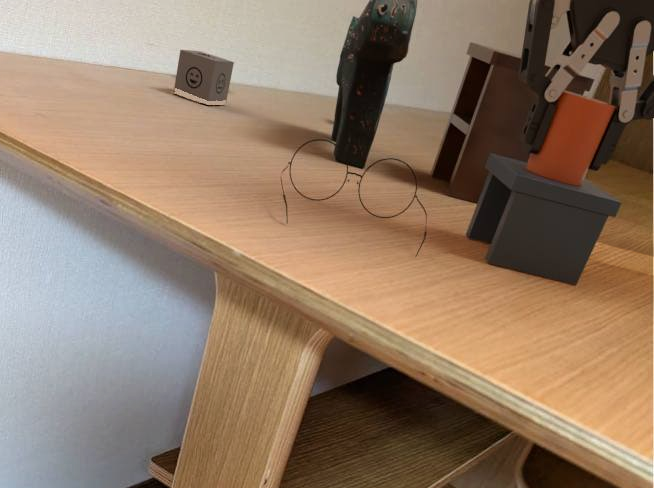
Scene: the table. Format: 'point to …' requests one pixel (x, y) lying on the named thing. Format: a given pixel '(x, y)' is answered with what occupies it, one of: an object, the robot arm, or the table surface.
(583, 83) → the tall shelf
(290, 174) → the eyeglasses
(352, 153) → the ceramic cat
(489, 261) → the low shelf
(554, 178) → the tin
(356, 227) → the table surface
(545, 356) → the table surface
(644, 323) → the table surface
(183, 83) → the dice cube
